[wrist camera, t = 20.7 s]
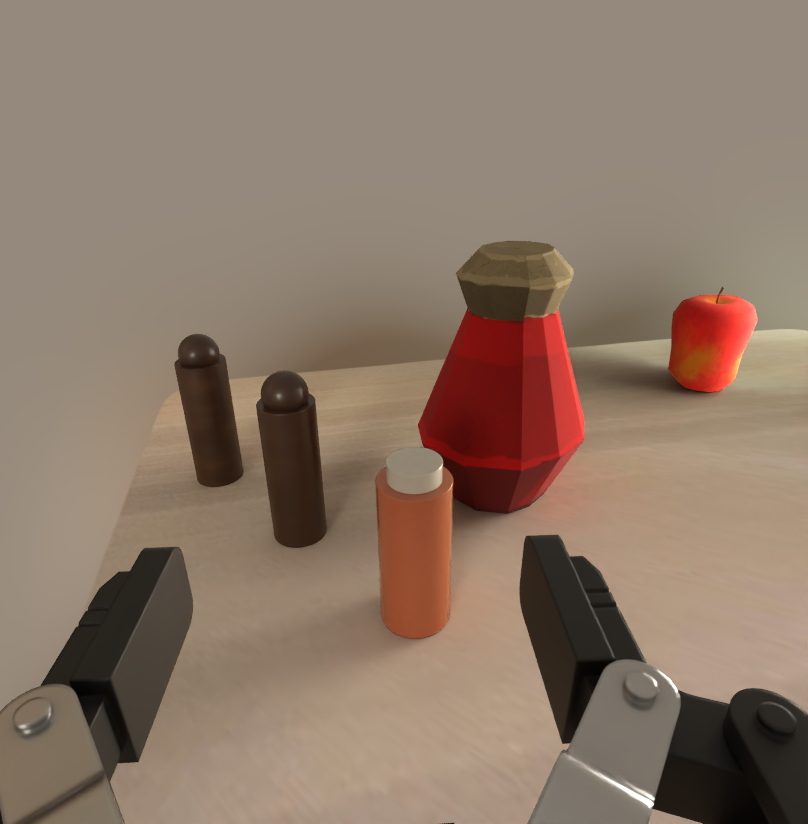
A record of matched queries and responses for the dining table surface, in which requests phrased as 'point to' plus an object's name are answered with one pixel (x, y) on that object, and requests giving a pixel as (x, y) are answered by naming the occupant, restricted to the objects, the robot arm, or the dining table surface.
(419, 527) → the shaker
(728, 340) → the apple
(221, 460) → the post
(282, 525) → the post
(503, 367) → the bottle
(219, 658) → the dining table surface
